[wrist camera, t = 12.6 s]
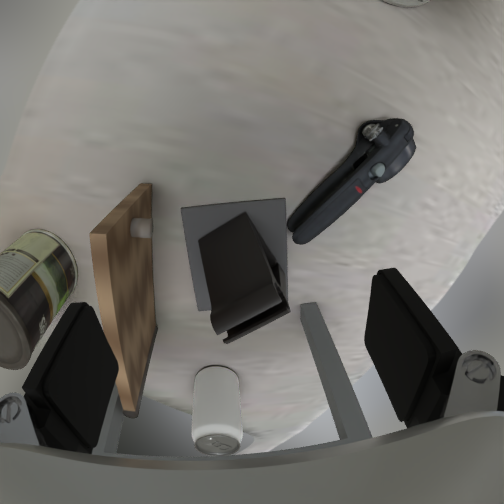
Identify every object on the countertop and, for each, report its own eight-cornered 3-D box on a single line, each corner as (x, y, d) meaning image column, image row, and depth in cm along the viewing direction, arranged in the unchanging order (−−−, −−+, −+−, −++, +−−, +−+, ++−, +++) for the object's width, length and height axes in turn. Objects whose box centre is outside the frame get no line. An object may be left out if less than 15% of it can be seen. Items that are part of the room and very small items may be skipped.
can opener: (378, 101, 30) (404, 101, 25) (412, 147, 32) (440, 156, 27) (265, 209, 34) (272, 227, 29) (307, 249, 37) (319, 272, 32)
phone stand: (285, 273, 37) (308, 341, 26) (240, 297, 38) (247, 370, 27) (245, 210, 34) (256, 261, 23) (198, 238, 34) (187, 300, 24)
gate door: (168, 333, 40) (153, 421, 27) (146, 331, 39) (123, 417, 27) (166, 184, 32) (129, 235, 19) (138, 183, 31) (86, 233, 19)
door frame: (316, 302, 40) (377, 451, 20) (315, 317, 41) (371, 463, 21) (127, 319, 39) (79, 467, 19) (132, 333, 40) (91, 479, 20)
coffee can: (92, 269, 35) (44, 343, 23) (55, 311, 38) (12, 382, 25) (36, 211, 32) (-34, 264, 19) (5, 261, 34) (-53, 319, 21)
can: (215, 357, 42) (215, 428, 32) (247, 378, 45) (254, 446, 34) (185, 378, 44) (180, 445, 33) (217, 398, 46) (218, 462, 35)
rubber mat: (284, 198, 34) (285, 199, 33) (287, 300, 39) (287, 302, 39) (181, 207, 33) (180, 209, 33) (198, 309, 39) (198, 311, 38)
